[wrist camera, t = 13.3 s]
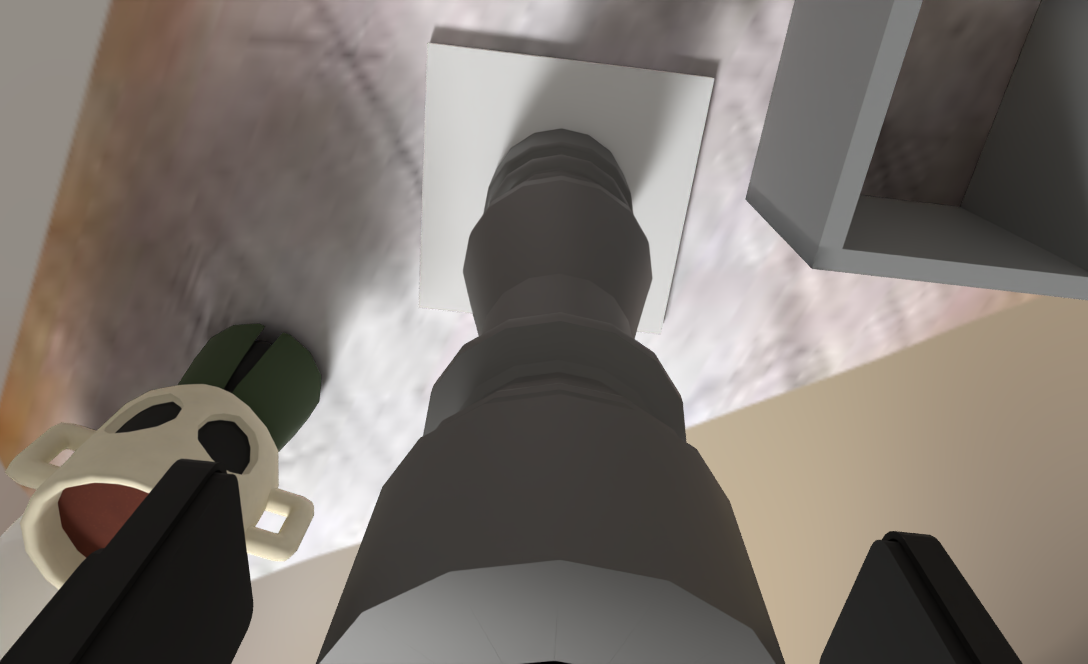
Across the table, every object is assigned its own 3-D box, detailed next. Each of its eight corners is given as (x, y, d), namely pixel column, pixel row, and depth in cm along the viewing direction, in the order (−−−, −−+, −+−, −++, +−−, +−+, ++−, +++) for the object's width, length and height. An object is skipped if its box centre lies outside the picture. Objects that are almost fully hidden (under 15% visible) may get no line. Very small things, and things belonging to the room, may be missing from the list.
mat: (429, 42, 28) (427, 43, 28) (711, 76, 29) (714, 78, 28) (420, 302, 33) (418, 307, 33) (658, 329, 34) (660, 334, 33)
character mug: (384, 352, 35) (296, 529, 23) (348, 456, 38) (254, 659, 26) (172, 276, 33) (-39, 425, 21) (152, 391, 36) (-43, 576, 24)
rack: (855, -243, 24) (1007, -370, 16) (1144, -203, 24) (1439, -307, 16) (745, 199, 31) (811, 268, 23) (970, 225, 31) (1114, 303, 23)
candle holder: (490, 125, 29) (239, 526, 6) (633, 130, 29) (884, 553, 6) (490, 261, 32) (314, 879, 9) (621, 266, 32) (769, 899, 9)
